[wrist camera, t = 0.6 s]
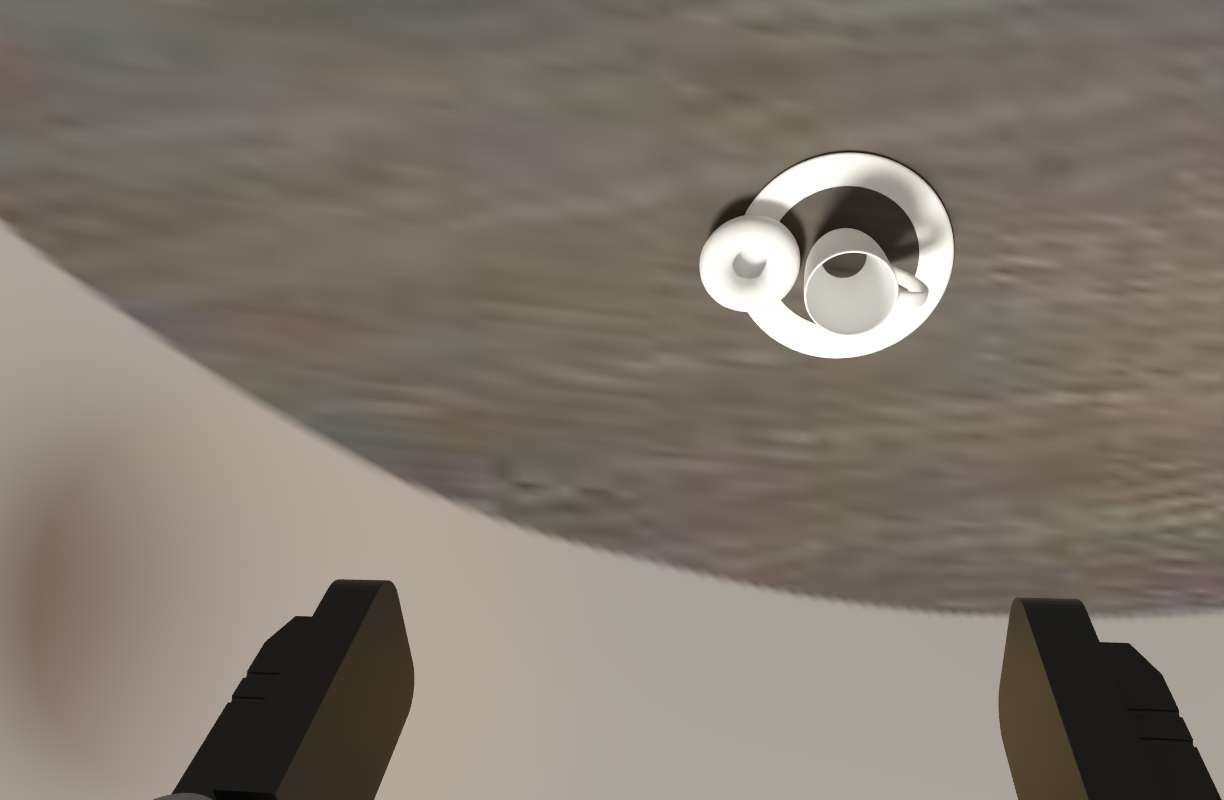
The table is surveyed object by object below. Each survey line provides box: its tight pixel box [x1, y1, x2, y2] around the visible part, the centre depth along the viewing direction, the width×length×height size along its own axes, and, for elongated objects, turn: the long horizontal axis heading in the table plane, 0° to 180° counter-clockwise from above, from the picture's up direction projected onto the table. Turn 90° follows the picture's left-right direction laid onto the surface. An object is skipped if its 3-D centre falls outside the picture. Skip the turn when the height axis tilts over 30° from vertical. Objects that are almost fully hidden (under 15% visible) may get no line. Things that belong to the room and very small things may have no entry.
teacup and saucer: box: [700, 152, 954, 358], centre depth 36 cm, size 9×8×4 cm
